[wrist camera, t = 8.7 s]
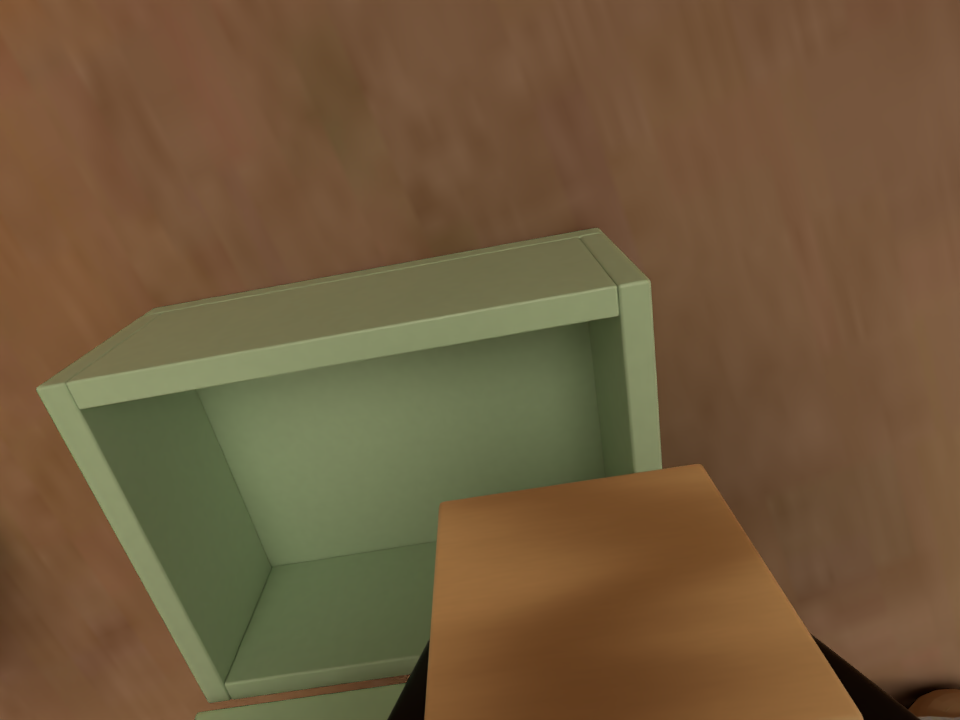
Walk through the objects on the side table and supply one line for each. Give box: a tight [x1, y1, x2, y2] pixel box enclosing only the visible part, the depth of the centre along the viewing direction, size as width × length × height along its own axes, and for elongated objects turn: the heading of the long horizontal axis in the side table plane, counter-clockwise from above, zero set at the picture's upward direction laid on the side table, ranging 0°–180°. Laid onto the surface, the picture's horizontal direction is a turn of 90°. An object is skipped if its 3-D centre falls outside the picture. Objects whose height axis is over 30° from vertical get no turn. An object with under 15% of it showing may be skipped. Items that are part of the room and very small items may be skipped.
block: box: [424, 464, 863, 720], centre depth 8 cm, size 4×4×4 cm
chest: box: [36, 228, 662, 703], centre depth 17 cm, size 10×13×5 cm
